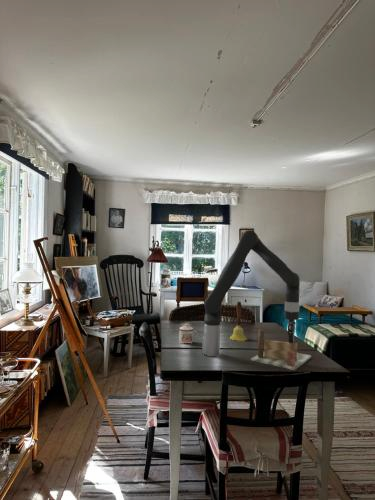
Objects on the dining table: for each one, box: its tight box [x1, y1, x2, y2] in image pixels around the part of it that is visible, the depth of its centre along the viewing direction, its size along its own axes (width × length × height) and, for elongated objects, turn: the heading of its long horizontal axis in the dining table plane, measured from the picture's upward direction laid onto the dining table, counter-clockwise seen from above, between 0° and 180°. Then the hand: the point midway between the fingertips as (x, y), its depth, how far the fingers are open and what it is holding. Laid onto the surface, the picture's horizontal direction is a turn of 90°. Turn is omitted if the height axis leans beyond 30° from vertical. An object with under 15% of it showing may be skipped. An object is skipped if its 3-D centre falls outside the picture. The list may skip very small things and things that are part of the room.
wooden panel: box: [264, 332, 298, 361], centre depth 188 cm, size 17×2×15 cm, turn 71°
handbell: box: [229, 301, 248, 342], centre depth 234 cm, size 12×12×25 cm
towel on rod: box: [250, 328, 312, 371], centre depth 193 cm, size 24×28×16 cm
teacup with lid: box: [178, 323, 199, 344], centre depth 222 cm, size 12×9×12 cm
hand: (291, 341), depth 187 cm, fingers closed on wooden panel, 2 cm apart
